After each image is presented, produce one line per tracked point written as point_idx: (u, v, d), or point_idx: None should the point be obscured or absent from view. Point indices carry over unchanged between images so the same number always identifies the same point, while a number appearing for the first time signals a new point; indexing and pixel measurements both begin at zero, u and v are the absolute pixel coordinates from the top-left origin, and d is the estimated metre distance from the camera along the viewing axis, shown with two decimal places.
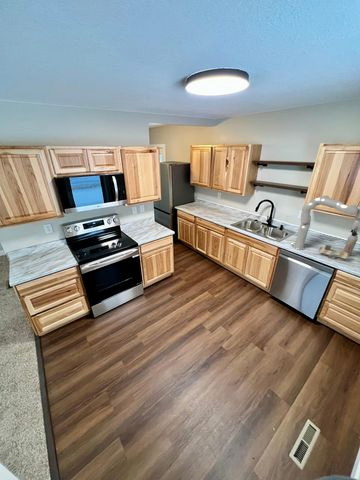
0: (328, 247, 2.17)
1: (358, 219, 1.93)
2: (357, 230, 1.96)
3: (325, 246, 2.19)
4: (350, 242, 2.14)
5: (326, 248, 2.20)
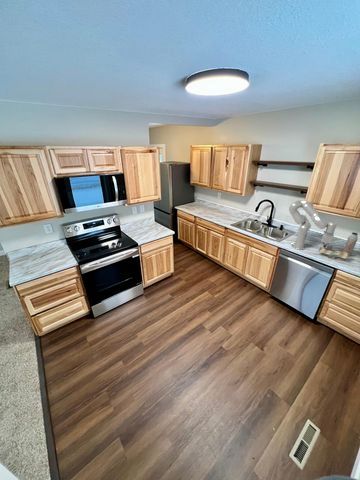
0: (330, 247, 2.16)
1: (333, 233, 2.10)
2: None
3: (327, 246, 2.18)
4: (350, 242, 2.14)
5: (328, 248, 2.19)
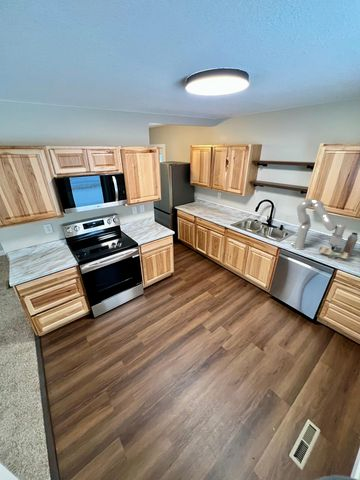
0: (338, 249, 2.12)
1: None
2: None
3: (335, 248, 2.14)
4: (350, 242, 2.14)
5: (336, 250, 2.14)
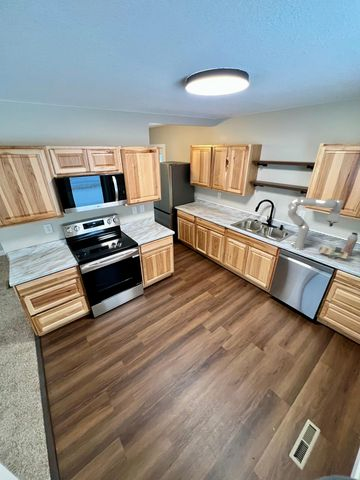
0: (338, 249, 2.12)
1: None
2: None
3: (335, 248, 2.14)
4: (350, 242, 2.14)
5: (336, 250, 2.14)
